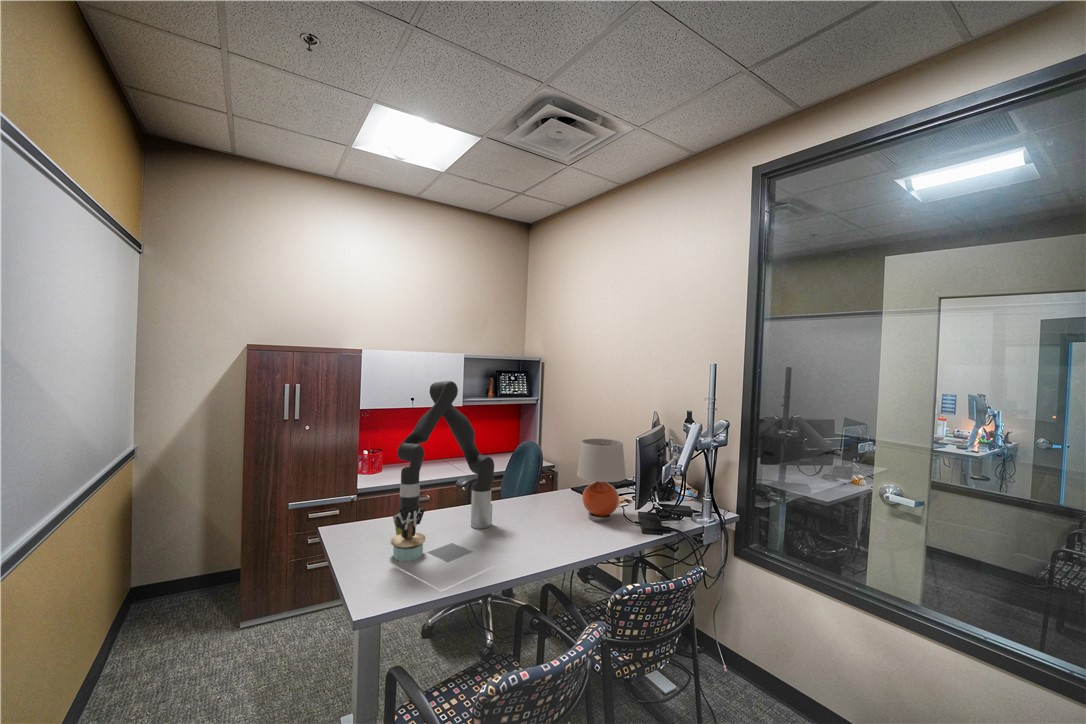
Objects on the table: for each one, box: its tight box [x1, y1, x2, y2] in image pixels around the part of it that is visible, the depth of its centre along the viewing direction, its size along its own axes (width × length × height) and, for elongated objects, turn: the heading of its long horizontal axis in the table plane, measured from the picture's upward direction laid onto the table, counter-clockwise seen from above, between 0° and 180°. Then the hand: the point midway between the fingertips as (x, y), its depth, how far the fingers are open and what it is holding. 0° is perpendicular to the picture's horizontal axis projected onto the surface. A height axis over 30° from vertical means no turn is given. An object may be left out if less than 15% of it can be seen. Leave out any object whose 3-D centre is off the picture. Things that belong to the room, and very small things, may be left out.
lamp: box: [576, 438, 627, 523], centre depth 233 cm, size 25×25×39 cm
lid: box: [391, 522, 426, 547], centre depth 182 cm, size 13×13×7 cm
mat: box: [427, 542, 474, 563], centre depth 186 cm, size 13×13×1 cm
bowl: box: [392, 543, 424, 562], centre depth 182 cm, size 11×11×5 cm
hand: (408, 536), depth 182 cm, fingers closed on lid, 2 cm apart
